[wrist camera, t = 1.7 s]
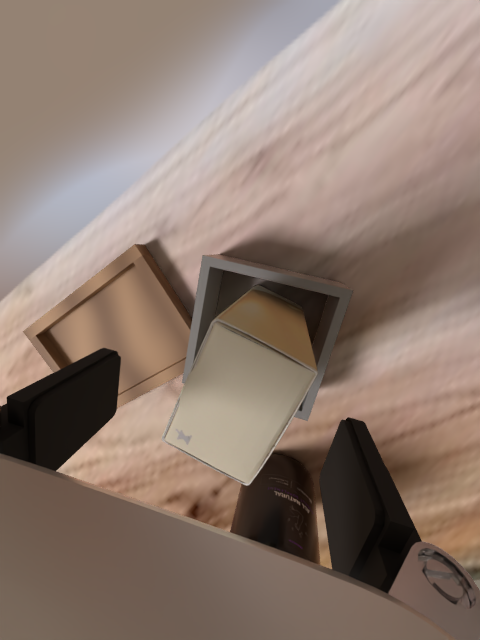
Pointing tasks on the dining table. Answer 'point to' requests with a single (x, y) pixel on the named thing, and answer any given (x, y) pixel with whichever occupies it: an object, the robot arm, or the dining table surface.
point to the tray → (120, 324)
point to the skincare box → (244, 385)
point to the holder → (335, 290)
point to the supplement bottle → (280, 509)
